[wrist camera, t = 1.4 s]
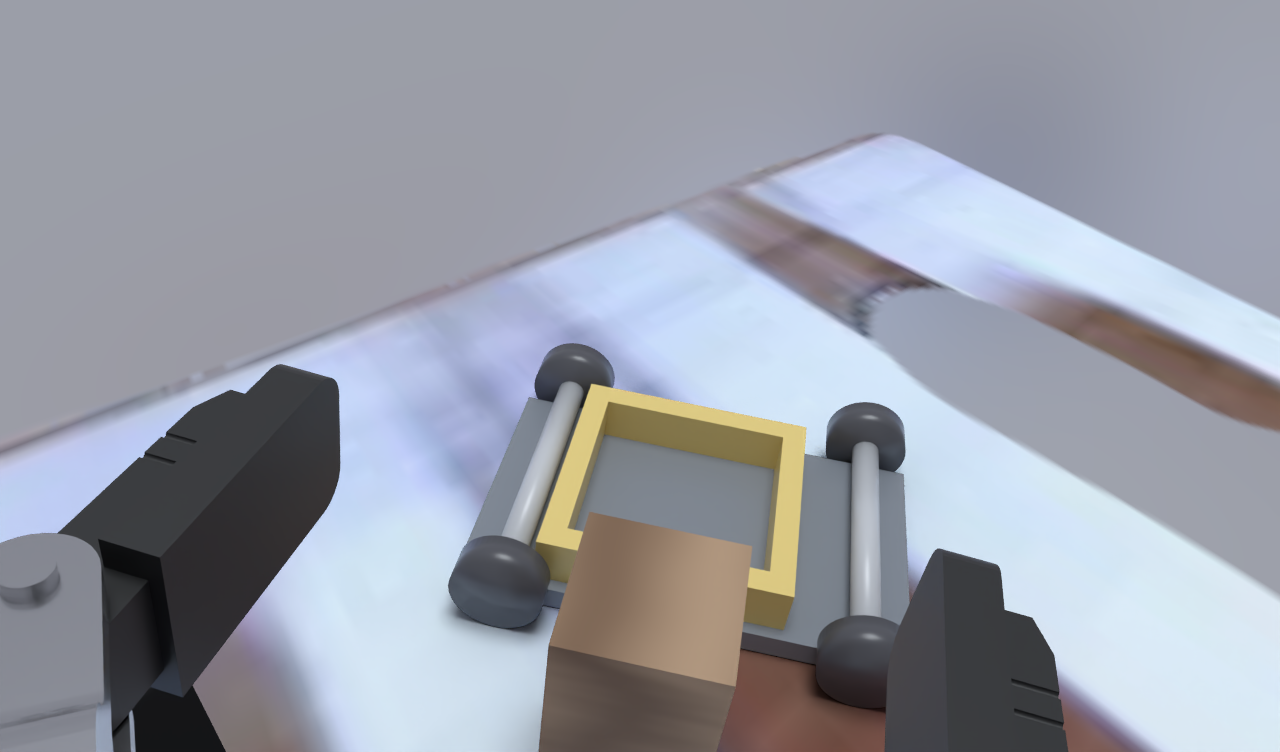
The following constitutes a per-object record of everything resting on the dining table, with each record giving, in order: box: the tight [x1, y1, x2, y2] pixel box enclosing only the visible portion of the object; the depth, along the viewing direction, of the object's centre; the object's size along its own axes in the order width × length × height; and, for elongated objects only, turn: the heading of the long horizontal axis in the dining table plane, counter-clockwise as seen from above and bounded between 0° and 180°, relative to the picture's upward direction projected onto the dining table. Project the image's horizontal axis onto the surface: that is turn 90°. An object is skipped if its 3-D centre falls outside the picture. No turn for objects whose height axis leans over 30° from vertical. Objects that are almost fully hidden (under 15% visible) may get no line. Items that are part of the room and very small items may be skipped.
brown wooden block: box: [539, 512, 752, 752], centre depth 31 cm, size 5×5×10 cm
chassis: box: [448, 343, 909, 708], centre depth 42 cm, size 18×14×4 cm
